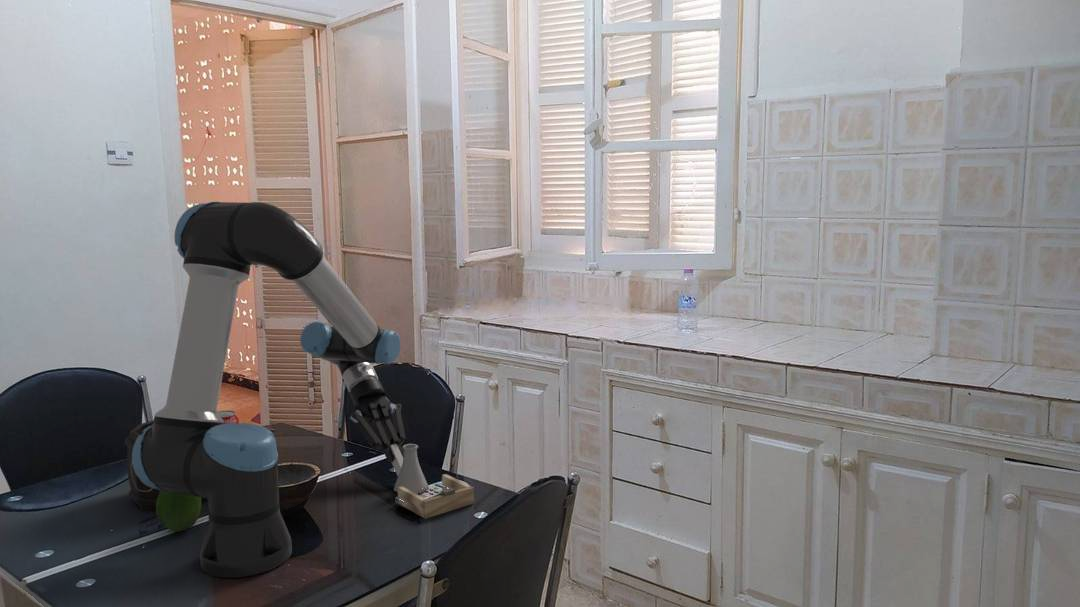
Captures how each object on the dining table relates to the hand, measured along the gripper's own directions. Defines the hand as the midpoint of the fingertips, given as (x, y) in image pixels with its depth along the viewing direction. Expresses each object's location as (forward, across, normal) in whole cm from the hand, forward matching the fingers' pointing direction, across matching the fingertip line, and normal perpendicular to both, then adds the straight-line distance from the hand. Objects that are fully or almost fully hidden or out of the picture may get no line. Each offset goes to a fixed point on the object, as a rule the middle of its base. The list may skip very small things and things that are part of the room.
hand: (402, 472), depth 168 cm
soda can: (-28, -24, +32) cm, 49 cm away
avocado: (-4, -44, +8) cm, 45 cm away
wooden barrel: (-16, -40, +21) cm, 48 cm away
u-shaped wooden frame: (+11, 0, -7) cm, 13 cm away
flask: (+5, 0, 0) cm, 5 cm away
